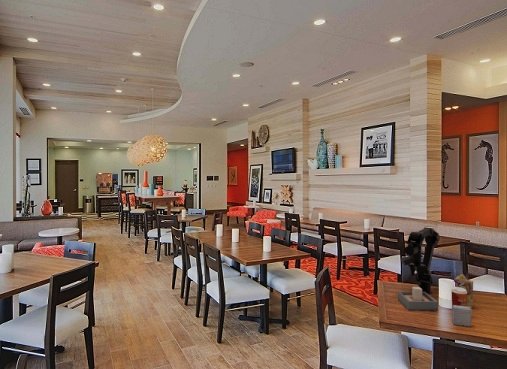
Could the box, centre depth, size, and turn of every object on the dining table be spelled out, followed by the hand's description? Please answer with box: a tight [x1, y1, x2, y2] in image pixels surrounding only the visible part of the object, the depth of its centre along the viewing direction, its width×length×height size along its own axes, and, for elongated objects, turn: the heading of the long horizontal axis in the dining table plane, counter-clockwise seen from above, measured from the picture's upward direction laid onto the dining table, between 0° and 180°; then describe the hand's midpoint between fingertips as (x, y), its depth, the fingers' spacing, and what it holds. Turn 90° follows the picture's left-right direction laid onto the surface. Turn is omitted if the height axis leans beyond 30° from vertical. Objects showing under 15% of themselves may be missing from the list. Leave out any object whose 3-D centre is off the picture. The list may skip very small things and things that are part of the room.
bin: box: [397, 290, 439, 312], centre depth 200 cm, size 16×16×5 cm
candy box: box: [453, 277, 474, 309], centre depth 199 cm, size 9×4×15 cm, turn 39°
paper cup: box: [450, 286, 467, 306], centre depth 187 cm, size 8×8×14 cm
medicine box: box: [451, 304, 473, 327], centre depth 176 cm, size 8×4×9 cm, turn 71°
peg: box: [411, 286, 422, 301], centre depth 200 cm, size 4×4×9 cm
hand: (415, 278), depth 212 cm, fingers open, 9 cm apart
